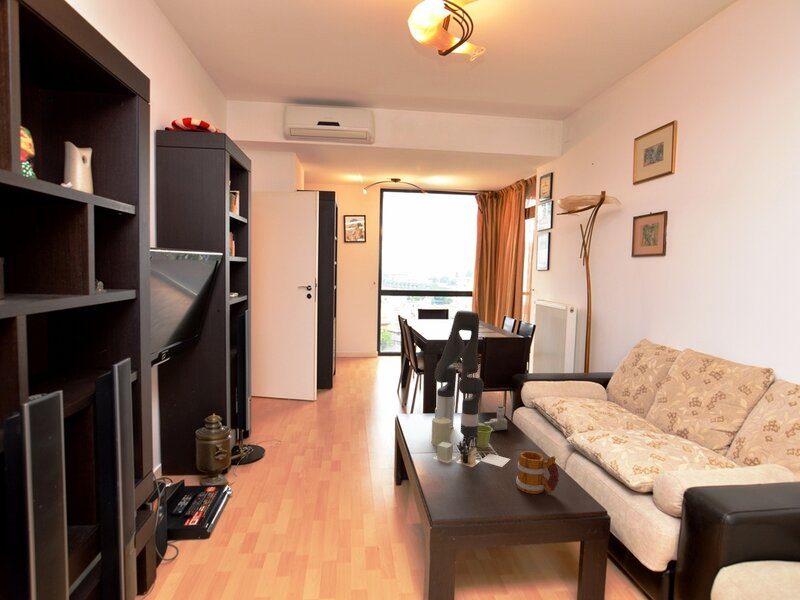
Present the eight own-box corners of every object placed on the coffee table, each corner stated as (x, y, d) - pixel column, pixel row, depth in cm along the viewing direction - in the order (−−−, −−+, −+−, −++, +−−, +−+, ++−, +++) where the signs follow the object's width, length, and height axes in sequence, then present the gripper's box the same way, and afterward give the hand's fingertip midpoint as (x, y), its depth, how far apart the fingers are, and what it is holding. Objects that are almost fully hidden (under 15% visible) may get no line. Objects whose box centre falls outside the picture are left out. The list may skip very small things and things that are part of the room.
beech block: (460, 461, 195) (460, 448, 194) (465, 458, 199) (466, 445, 198) (470, 465, 192) (471, 451, 191) (475, 461, 196) (476, 447, 196)
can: (446, 439, 221) (447, 415, 220) (453, 446, 212) (454, 421, 212) (428, 440, 219) (429, 416, 218) (434, 447, 210) (435, 423, 209)
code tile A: (455, 462, 194) (455, 462, 194) (463, 456, 201) (463, 456, 201) (472, 467, 190) (472, 467, 190) (480, 461, 196) (480, 460, 196)
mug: (522, 478, 182) (523, 442, 181) (562, 491, 171) (564, 453, 170) (510, 487, 173) (512, 450, 172) (552, 502, 163) (554, 462, 162)
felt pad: (480, 461, 196) (480, 460, 196) (489, 454, 205) (489, 453, 204) (501, 467, 191) (501, 466, 191) (510, 460, 199) (510, 459, 199)
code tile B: (432, 459, 197) (432, 458, 197) (441, 453, 204) (441, 452, 204) (448, 463, 193) (448, 463, 193) (456, 457, 200) (456, 457, 200)
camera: (510, 409, 234) (483, 411, 231) (509, 431, 235) (483, 433, 232) (502, 404, 243) (476, 406, 239) (501, 425, 244) (476, 427, 240)
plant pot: (490, 442, 218) (491, 425, 218) (492, 450, 209) (493, 432, 209) (471, 441, 219) (472, 424, 219) (472, 449, 210) (473, 431, 209)
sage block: (437, 458, 198) (437, 445, 197) (442, 454, 202) (443, 441, 202) (447, 461, 195) (447, 447, 195) (452, 457, 199) (452, 444, 199)
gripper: (469, 416, 202) (467, 453, 203) (454, 425, 190) (452, 463, 191) (484, 420, 198) (482, 457, 199) (470, 429, 186) (468, 468, 187)
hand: (468, 460), depth 195 cm, fingers closed on beech block, 5 cm apart
